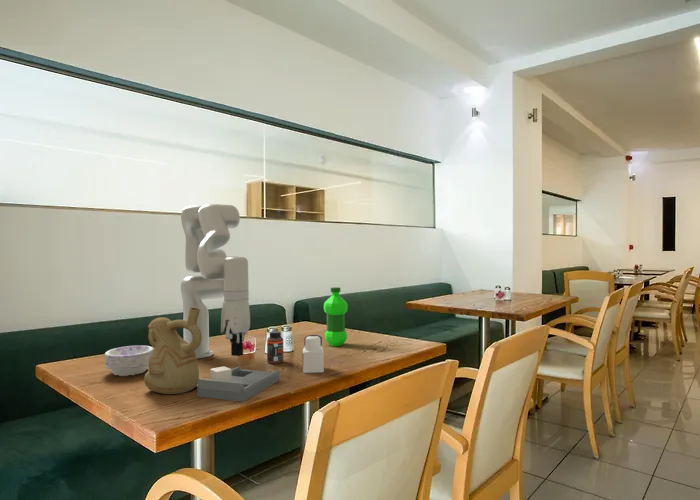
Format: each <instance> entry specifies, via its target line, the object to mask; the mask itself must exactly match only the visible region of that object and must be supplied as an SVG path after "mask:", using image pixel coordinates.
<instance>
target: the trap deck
mask: <svg viewBox="0 0 700 500" xmlns="http://www.w3.org/2000/svg"><path fill="white" fill-rule="evenodd" d="M231 373H232V382H227V381H218V380H210V378H209V379H207V378H206V379H205V378H199V379H197V380H198V384H197V397H198V398H199V397H200V398H206V399H216V400H217V399H218V400H225V401H235V402H241V403H243V402H246V401H247V400H248V399H251V398H252V397H254V396H255V395H257V394H259V393H261V392H262V391H264V390H265V389H268V388H269V387H270V386H272V385H274V384H276V383H277V382H280V369H276V370H275V371H265V370H255V369H254V370H252V369H243V368H242V369H241V366H239V365H238V366H237V367H234V368H231Z"/></svg>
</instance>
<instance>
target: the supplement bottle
mask: <svg viewBox="0 0 700 500" xmlns="http://www.w3.org/2000/svg"><path fill="white" fill-rule="evenodd" d="M266 346H267V347H266V350H267V351H266V353H267V354H266V362H267V363H268V364H273V365H275V364H282V363H283V362H284V338H283V337H282V336H281V331H279V330H274V331H270V332H269V337H268V338H267V340H266Z"/></svg>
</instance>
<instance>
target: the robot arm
mask: <svg viewBox="0 0 700 500" xmlns="http://www.w3.org/2000/svg"><path fill="white" fill-rule="evenodd" d="M240 218H241V217H240V212H239V210H238V208H237V207H236V206H234V205H232V204H218V203H217V204H214V203H210V204H209V203H207V204H204V205H187V206H185V207H184V208H183V209H182V210H181V215H180V220H181V221H180V222H181V226H182V229H183V233H184V234H185V255H184V257H185V268H186V270H187V272H189V273H196V274H197V273H200V274H201V275H190V276H186V277H184V278H183V279H182V280H181V282H180V292H181V293H180V294H181V299H182V307H183V314H182V315H183V319H182V320H188V316H189V309H190V308H198V309H199V310H200V312H199V315H198V319H197V326H198V327H199V329H200V331H201V337H202V338H201V343H200V345H199V347H198V348H197V349H196V350H195V353H196V358H197V360H198V359H204V358H208V357H212V355H213V354H214V351H213V350H211V349H210V347H209V346H210V326H209V324H210V322H209V319H210V318H209V316H210V313H209V309H208V306H206V304H205V303H204V302H203V300H204V301H205V300H213V299H214V300H215V299H222V298H223V303H222V307H221V315H220V317H221V318H220V332H221V334H223V335H225V339H227V340H228V339H229V342H230V346H231V347H230V348H231V349H230V350H231V352H230V353H231V356H233V357H235V356H236V357H240V356H243V355H244V342H245V336H246V335H247V334H248V331H249V330H250V328H251V312H250V311H251V310H250V303H249V300H250V299H249V298H250V297H249V293H250V292H249V262H248V261H249V260H248V259H247V258H246V257H244V256H227V254H226V251H224V250H223V249H221V248H222V247H225V245H226V244H228V243H229V241H230V239H231V233H230V230H229V229H235V228H237V227H238V226H239V224H240V220H241V219H240ZM183 340H185V341H186V342H187V343H190V342H191V341H192V333H191V332H190V331H189V330H188V329H185V328H183Z"/></svg>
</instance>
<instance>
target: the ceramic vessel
mask: <svg viewBox="0 0 700 500" xmlns="http://www.w3.org/2000/svg"><path fill="white" fill-rule="evenodd" d="M199 312H200V310H199V309H198V308H190V309H189V316H188V320H183V319H175V320H174V319H173V320H171V319H170V318H168V317H164V316H163V317H162V316H161V317H156V318H154V319H153V320H151V322H150V323H149V324H148V325H147V328H148V335H147V339H148V341H149V344H150V345H151V346H150V347H153V349H154V350H153V352H152V353H151V355H150V358H149V365H148V371H147V372H146V373H145V374H144V377H143V382H144V385H145V387H146V388H147V389H148V390H149V391H151V390H152V391H151V392H155V393H158V394H164V395H177V394H184V393H186V392H190V391H192V390H194V389H195V388H197V387H198V380H197V379H200V368H199V363H198V359H197V358H196V353H195V350H196V349H197V348H198V347H199V345H200V343H201V338H202V337H201V331H200V329H199V327H198V326H197V319H198V315H199ZM179 328H180V329H184V328H185V329H188V330H189V331H190V332H191V333H192V341H191V342H190V343H187V342H186V341H185V340H184V338H183V337H182V336H181V335H179V333H178V332H177V329H179Z"/></svg>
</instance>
